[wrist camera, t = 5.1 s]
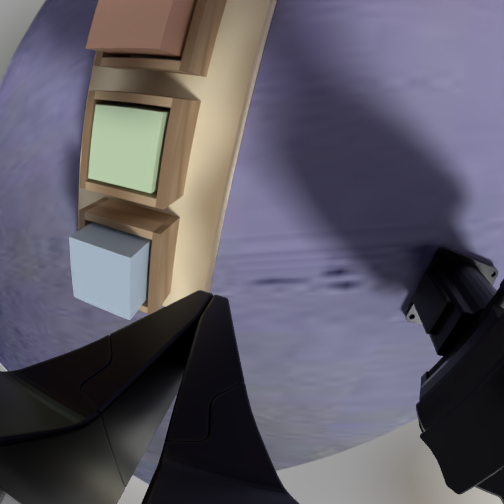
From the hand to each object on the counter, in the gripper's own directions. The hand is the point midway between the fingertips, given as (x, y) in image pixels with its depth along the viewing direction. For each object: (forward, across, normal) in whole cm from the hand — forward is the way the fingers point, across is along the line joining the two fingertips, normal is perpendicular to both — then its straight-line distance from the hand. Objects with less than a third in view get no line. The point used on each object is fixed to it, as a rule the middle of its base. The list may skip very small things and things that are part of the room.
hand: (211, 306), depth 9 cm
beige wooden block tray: (+13, +8, -2) cm, 15 cm away
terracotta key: (+9, +8, -9) cm, 15 cm away
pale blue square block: (+9, +8, +5) cm, 13 cm away
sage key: (+11, +8, -2) cm, 14 cm away
